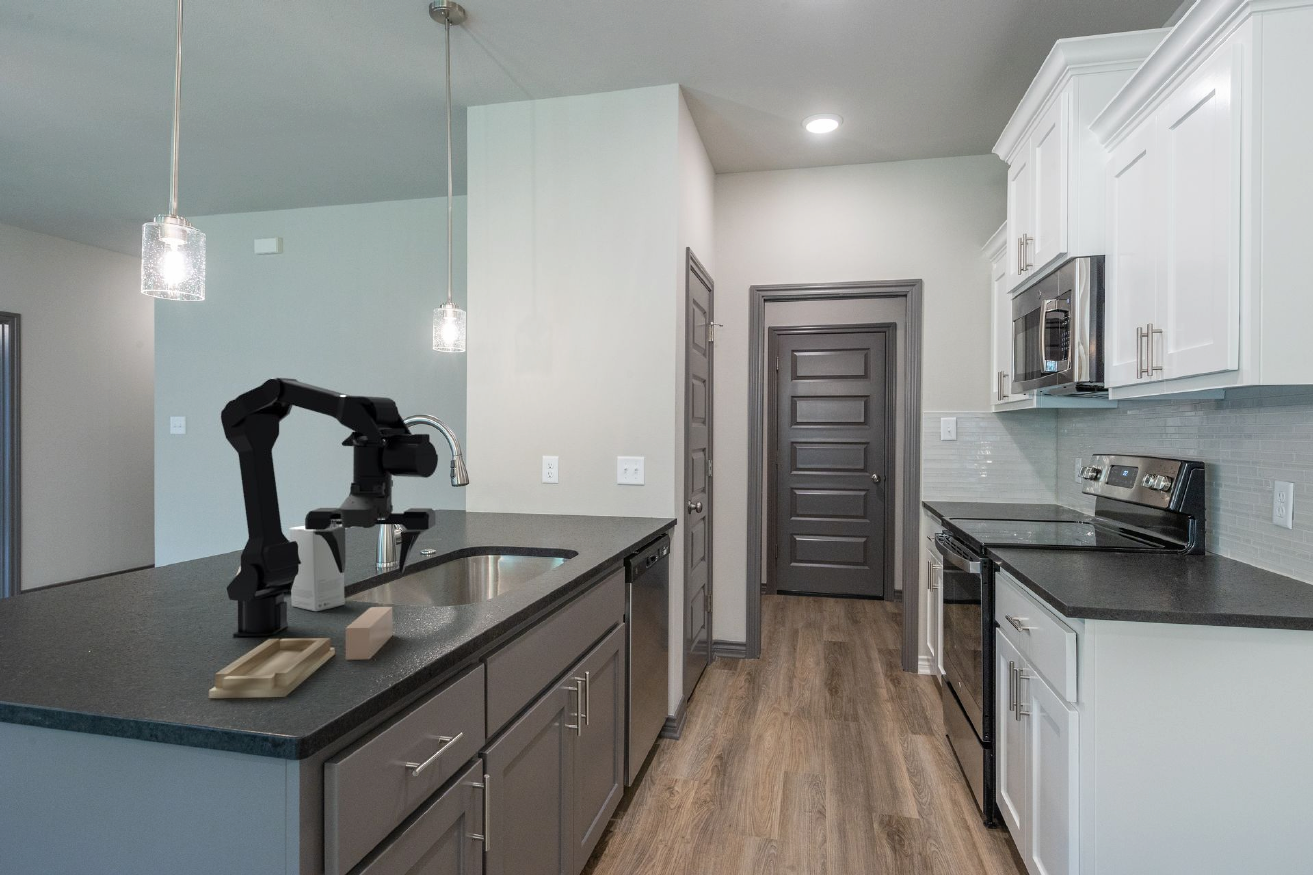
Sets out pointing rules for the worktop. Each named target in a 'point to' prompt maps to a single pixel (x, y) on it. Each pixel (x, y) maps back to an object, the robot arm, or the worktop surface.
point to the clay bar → (368, 633)
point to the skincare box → (315, 573)
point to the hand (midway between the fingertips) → (371, 572)
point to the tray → (272, 668)
